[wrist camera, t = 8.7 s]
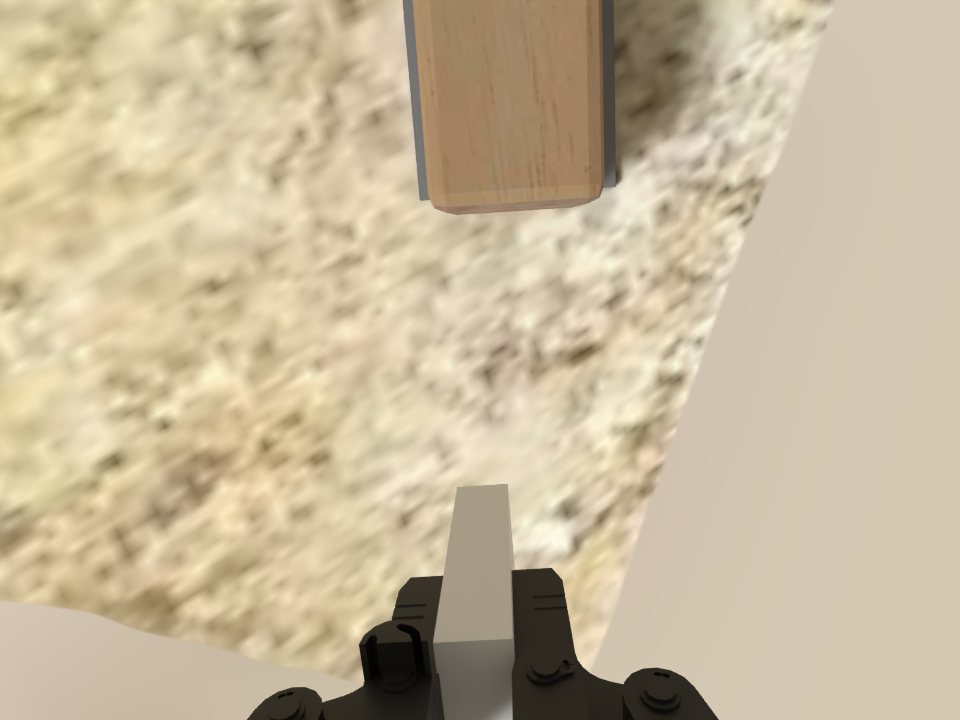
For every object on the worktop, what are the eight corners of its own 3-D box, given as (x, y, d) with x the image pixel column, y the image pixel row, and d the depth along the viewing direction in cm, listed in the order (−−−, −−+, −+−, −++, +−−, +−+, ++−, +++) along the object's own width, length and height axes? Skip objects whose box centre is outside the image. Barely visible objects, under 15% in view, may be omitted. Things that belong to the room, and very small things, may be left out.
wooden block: (582, 206, 42) (575, -116, 38) (607, 201, 32) (602, -235, 28) (443, 215, 42) (420, -102, 38) (427, 213, 33) (393, -214, 28)
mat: (392, -133, 38) (390, -139, 38) (609, -155, 37) (610, -161, 37) (420, 200, 43) (419, 200, 42) (614, 186, 42) (615, 186, 42)
